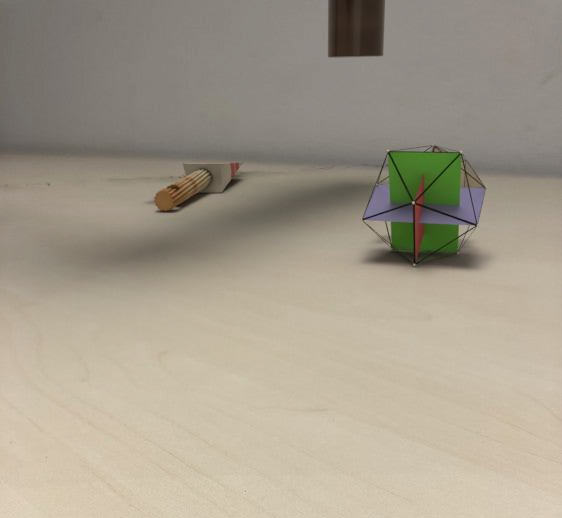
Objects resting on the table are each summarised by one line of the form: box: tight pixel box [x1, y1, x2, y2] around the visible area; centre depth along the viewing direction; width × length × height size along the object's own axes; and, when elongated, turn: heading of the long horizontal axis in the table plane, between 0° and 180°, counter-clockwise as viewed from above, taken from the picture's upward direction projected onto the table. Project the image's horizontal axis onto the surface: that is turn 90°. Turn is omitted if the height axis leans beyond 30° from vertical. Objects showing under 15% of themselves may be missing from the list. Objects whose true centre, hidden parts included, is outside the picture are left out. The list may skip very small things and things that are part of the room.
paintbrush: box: [153, 161, 244, 212], centre depth 68 cm, size 4×3×20 cm
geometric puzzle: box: [360, 143, 488, 267], centre depth 42 cm, size 7×7×8 cm
